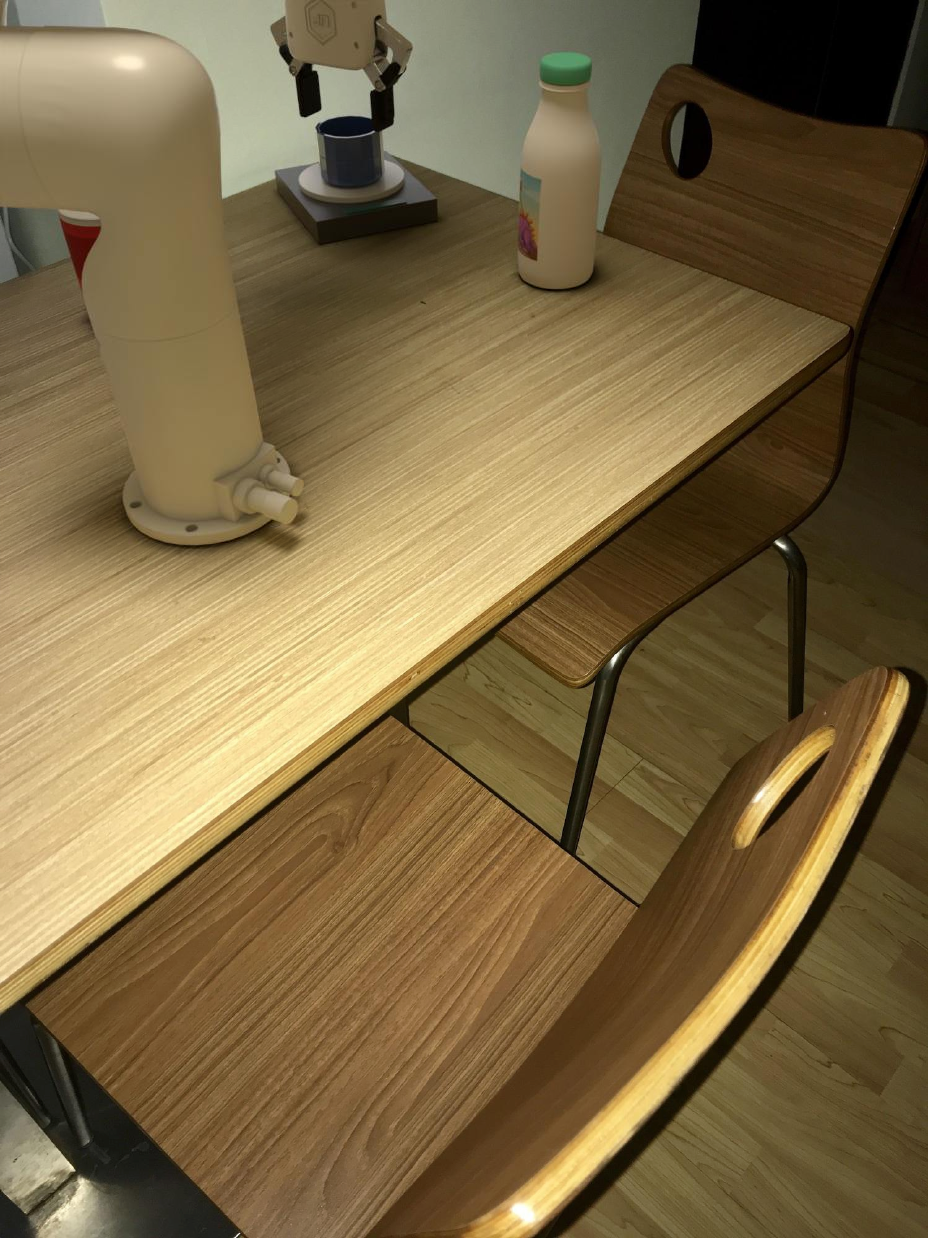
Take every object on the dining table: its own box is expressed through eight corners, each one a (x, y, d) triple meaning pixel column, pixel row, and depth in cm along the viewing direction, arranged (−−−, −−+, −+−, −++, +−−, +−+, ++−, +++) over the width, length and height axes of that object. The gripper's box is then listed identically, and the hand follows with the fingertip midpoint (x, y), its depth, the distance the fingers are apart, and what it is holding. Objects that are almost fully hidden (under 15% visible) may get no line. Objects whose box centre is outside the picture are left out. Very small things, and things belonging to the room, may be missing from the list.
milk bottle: (598, 261, 104) (616, 47, 89) (585, 295, 98) (601, 74, 84) (526, 253, 105) (533, 42, 91) (509, 286, 100) (513, 68, 86)
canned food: (153, 337, 94) (123, 221, 86) (75, 330, 95) (39, 215, 87) (185, 299, 99) (160, 187, 91) (111, 292, 100) (80, 181, 92)
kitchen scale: (438, 220, 111) (437, 191, 109) (319, 244, 107) (315, 214, 105) (387, 171, 122) (385, 144, 120) (277, 191, 118) (273, 163, 116)
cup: (397, 172, 113) (394, 121, 109) (360, 194, 109) (356, 142, 105) (345, 161, 116) (341, 110, 112) (308, 182, 112) (302, 130, 108)
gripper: (236, -70, 97) (262, 118, 109) (381, -54, 90) (393, 144, 102) (284, -82, 101) (304, 99, 113) (426, -68, 95) (432, 123, 107)
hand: (346, 120), depth 108 cm, fingers open, 9 cm apart
